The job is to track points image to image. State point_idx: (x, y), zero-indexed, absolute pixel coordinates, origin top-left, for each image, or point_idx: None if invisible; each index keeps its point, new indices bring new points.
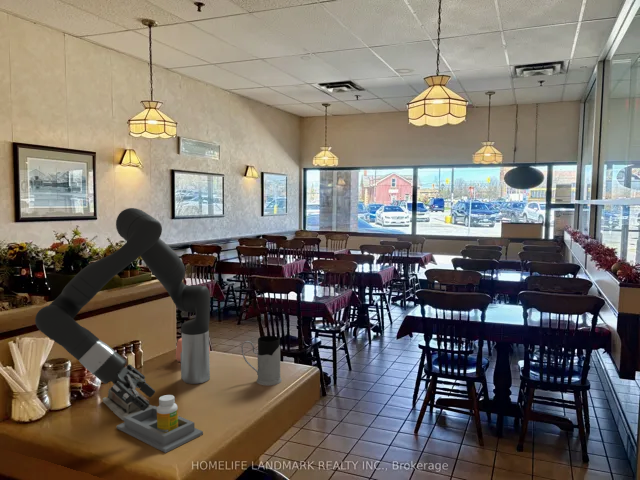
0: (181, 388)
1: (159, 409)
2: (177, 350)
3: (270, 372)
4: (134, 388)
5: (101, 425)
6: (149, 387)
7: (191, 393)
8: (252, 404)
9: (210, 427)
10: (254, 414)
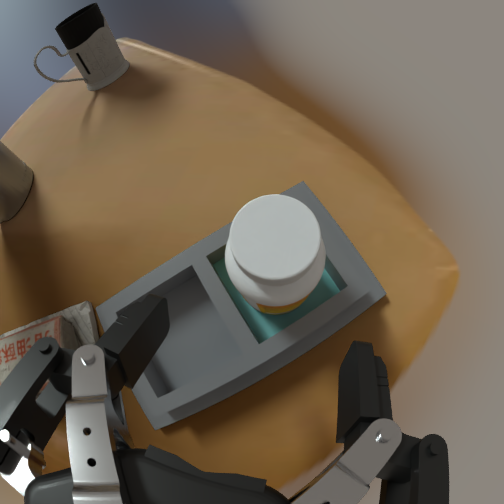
0: (26, 225)
1: (303, 290)
2: None
3: (115, 52)
4: (348, 471)
5: None
6: (141, 326)
7: (54, 203)
8: (185, 86)
9: (266, 164)
10: (237, 84)
